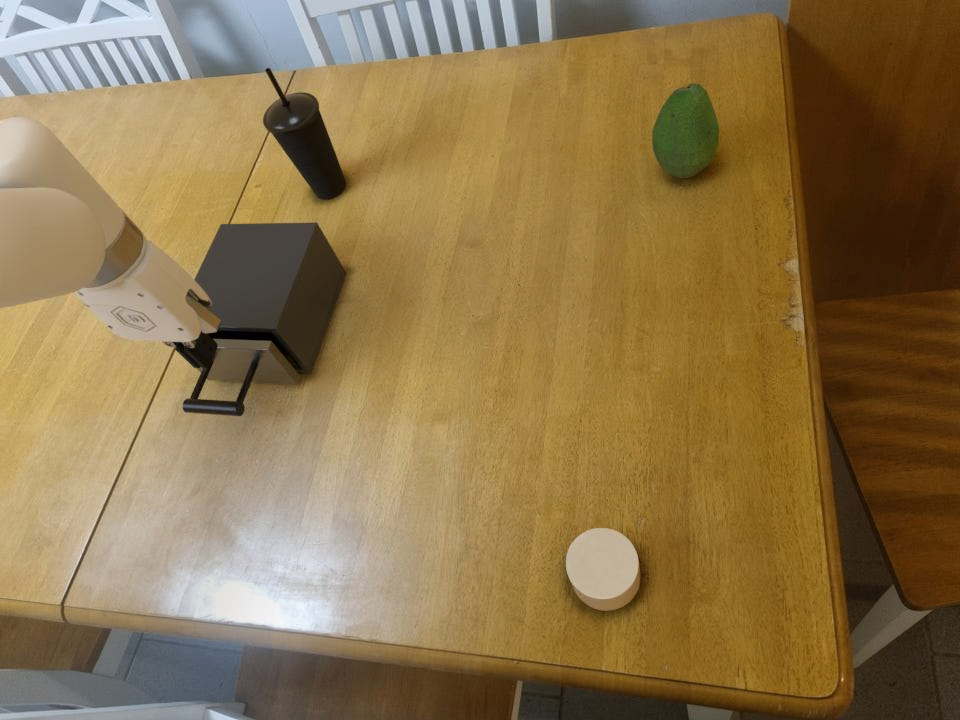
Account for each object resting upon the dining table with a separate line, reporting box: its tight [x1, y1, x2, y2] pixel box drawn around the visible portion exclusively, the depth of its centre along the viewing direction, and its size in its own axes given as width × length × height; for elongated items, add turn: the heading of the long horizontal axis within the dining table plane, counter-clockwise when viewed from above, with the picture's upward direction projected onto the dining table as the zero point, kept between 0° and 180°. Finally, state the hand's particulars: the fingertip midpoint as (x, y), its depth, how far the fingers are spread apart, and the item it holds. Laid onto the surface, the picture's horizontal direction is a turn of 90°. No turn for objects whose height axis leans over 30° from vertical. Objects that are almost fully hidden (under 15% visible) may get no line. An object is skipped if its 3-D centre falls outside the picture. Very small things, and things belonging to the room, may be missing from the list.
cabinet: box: [193, 222, 347, 375], centre depth 90 cm, size 16×14×10 cm
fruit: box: [651, 82, 720, 179], centre depth 88 cm, size 8×8×12 cm
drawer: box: [174, 331, 302, 417], centre depth 87 cm, size 21×12×8 cm, turn 169°
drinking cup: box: [262, 67, 347, 201], centre depth 98 cm, size 8×8×20 cm
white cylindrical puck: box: [565, 527, 642, 612], centre depth 66 cm, size 6×6×4 cm
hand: (207, 356), depth 80 cm, fingers closed
